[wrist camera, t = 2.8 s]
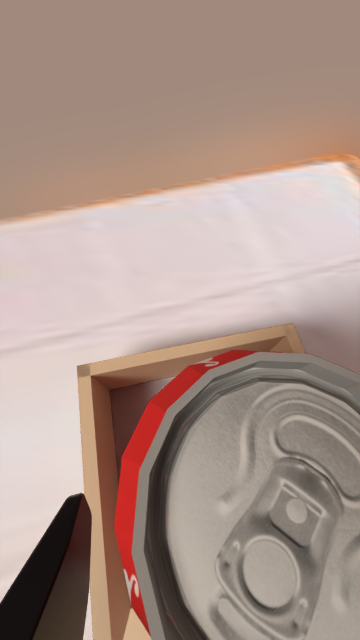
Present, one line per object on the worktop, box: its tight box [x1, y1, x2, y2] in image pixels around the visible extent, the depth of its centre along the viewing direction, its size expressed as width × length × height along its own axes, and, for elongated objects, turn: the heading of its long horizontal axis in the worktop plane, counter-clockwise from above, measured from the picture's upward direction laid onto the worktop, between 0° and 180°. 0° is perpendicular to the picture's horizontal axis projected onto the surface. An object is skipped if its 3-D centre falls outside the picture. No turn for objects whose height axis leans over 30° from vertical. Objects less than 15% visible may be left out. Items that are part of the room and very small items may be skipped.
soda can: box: [114, 350, 360, 640], centre depth 9 cm, size 6×6×12 cm
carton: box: [77, 323, 306, 640], centre depth 12 cm, size 17×11×4 cm
